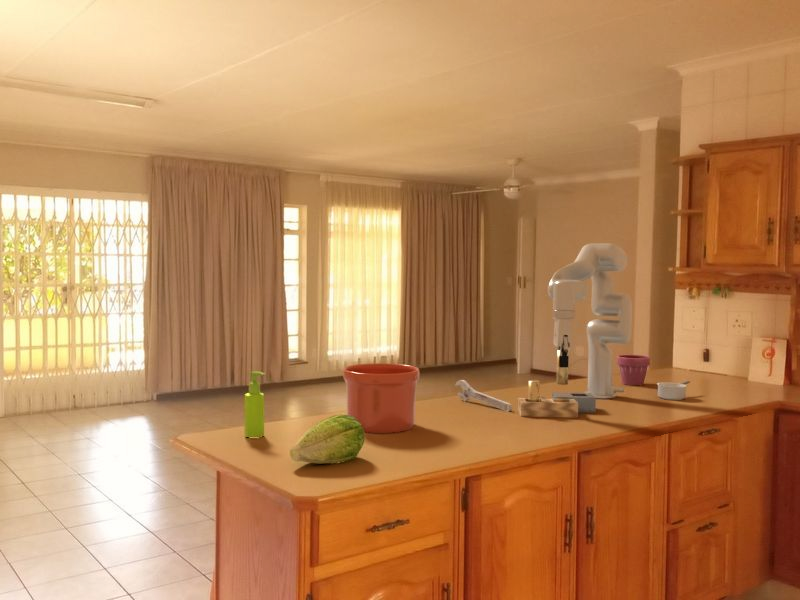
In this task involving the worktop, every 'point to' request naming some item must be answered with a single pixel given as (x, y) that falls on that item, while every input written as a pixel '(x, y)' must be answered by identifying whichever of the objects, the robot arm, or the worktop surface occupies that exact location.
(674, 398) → the saucepan
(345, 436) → the green papaya
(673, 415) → the worktop surface
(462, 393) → the wrench
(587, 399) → the socket block
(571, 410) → the rack
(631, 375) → the plant pot
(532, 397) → the amber rod
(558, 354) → the gold cylinder
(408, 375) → the pot
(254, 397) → the soap dispenser
